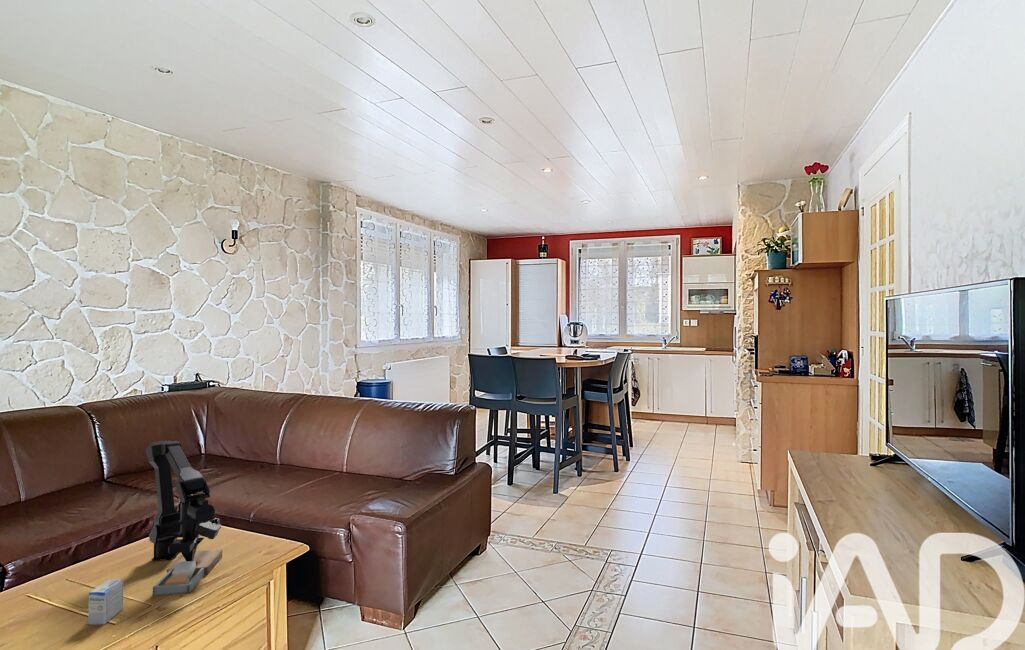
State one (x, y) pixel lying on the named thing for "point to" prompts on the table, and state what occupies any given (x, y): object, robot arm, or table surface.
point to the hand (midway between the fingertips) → (190, 563)
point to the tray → (177, 589)
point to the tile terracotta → (178, 579)
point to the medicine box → (105, 601)
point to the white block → (185, 568)
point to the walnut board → (202, 560)
